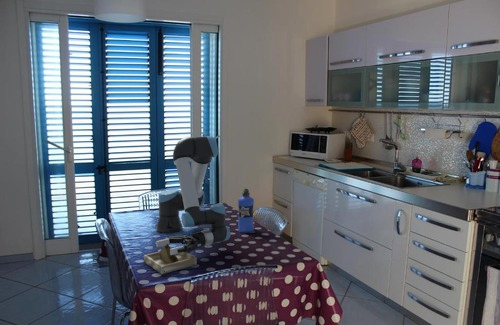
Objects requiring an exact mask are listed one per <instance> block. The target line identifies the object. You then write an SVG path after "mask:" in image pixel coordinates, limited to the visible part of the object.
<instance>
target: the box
mask: <svg viewBox="0 0 500 325" xmlns="http://www.w3.org/2000/svg"><path fill="white" fill-rule="evenodd" d="M177 247H178V246H177ZM177 247H174V248H177ZM170 248H171V247H170ZM171 249H172V248H171ZM160 251H161V250H159V251H156V252H152V253H147V254H144V255H143V259H144V260H143V263H144V264H146V265H147V266H149V268H152V269H153V270H155V271H156V272H158V273H159V274H161V275H164V274H168V273H171V272H172V273H173V272H175V271H179V270H182V269H186V268H190V267H193V266H196V265H197V261H198V260H197V259H198V258H197V256H195V255H193V254H191V253H187V252H182V253H178V254H175V255H176V257H177V259H178V262H174V263H171V264H168V263H166V262H165V261H163V260H161V259H160ZM153 266H154V267H153ZM164 271H165V272H164Z"/></svg>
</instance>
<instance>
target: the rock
mask: <svg viewBox="0 0 500 325" xmlns="http://www.w3.org/2000/svg"><path fill="white" fill-rule="evenodd" d="M170 249H171V246H170V244H169V245H168V244H166V245H164V246H162V248H161V249H160V250H159V251H160V259H161V260H163V261H165V262H166V263H168V264H171V263H174V262H178V259H177V257H176V255H175V254H174V255H170Z"/></svg>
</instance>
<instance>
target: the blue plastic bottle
mask: <svg viewBox="0 0 500 325" xmlns="http://www.w3.org/2000/svg"><path fill="white" fill-rule="evenodd" d="M241 195H242V196H240V197H239V198H237V205H238V215H237V216H238V217H237V218H238V219H237V220H238V222H237V223H238V224H237V231H238V232H239V233H247V234H248V233H252V232H254V211H253V210H254V206H255V205H254V204H255V199H254V197H251V196H250V195H251V194H250V190H249V189H248V188H244V189H243V190H242V193H241Z"/></svg>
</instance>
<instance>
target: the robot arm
mask: <svg viewBox="0 0 500 325" xmlns="http://www.w3.org/2000/svg"><path fill="white" fill-rule="evenodd" d="M218 148H219V147H218V144H217V141H216V138H215V137H214V136H212V135H211V136H210V135H204V136H185V137H182V138H181V139H180V140H179V141H178V142H177V143H176V144H175V146H174V149H173V152H172V161H173V164H174V165H175V166H176V172H177V177H178V183H179V188H180V191H179V189H177V188H173V189H172V188H170V189H166V190H163V191H161V192H160V193H159V194H158V200H157V201H158V213H159V214H158V216H159V217H158V220H157V224H156V226H155V227H156V231H157V232H159V233H162V234H170V233H177V232H179V231H181V230H183V227H184V228H195V227H200V226H207V225H208V226H209V225H210V228H208V229H205V230H201V231H196V232H193V233H192V235H191V236H188V235H187V234H185V235H184V234H183V235H174V236H167V238H165V239H160V240H156V242H155V243H156V248H158V247H159V248H160V247H164V246H165V245H166V244H168V245H169V246H170V244H182V245H181V246H177V248H175V247H173V248H172V249H170V255H174V254H178V253H182V252H187V253H189V254H191V253H192V252H193V251H195V250H197V249H199V248H202V247H205V246H206V247H208V246H209V245H214V244H217V243H222V242H225V241H229V239H230V237H231V231H230V227H228V226H227V225H226V215H227V213H226V206H225V205H224V204H221V203H214V204H211V205H210V207H209V209H202V208H203V207H204V204H205V201H206V195H205V191H203V189H202V188H203V184H204V180H205V176H206V172H207V168H208V165H209V164H210V163H211V162H212V160H213V158H216V157H217V156H218V154H219V149H218ZM201 209H202V210H201ZM182 211H183V212H182ZM180 212H181V216H180ZM180 217H181V218H180Z"/></svg>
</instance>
